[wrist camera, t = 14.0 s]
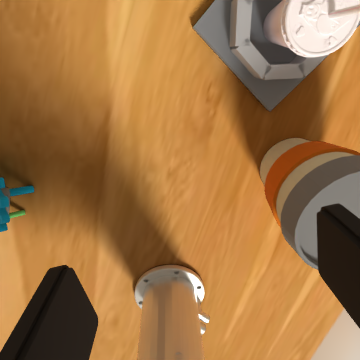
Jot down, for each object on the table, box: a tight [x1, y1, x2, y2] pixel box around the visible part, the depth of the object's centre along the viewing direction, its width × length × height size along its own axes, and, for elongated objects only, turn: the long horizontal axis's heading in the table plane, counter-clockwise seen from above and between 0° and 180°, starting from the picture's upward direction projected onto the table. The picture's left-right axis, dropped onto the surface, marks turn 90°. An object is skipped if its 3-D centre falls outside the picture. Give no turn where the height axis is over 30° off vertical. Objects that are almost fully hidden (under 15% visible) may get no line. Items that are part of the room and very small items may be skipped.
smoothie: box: [263, 0, 360, 57], centre depth 24 cm, size 6×6×14 cm
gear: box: [0, 177, 34, 232], centre depth 36 cm, size 11×6×10 cm
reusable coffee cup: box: [260, 138, 360, 270], centre depth 32 cm, size 13×12×15 cm
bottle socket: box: [193, 0, 360, 111], centre depth 29 cm, size 14×14×4 cm
